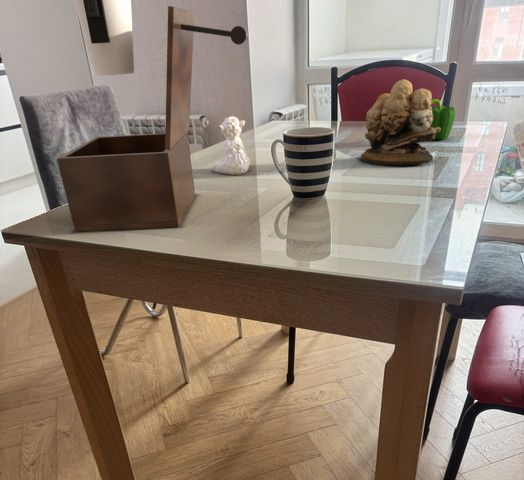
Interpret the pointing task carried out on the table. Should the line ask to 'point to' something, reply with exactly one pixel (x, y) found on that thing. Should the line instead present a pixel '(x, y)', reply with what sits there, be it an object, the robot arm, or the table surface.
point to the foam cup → (111, 38)
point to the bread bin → (128, 182)
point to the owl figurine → (400, 127)
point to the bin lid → (184, 68)
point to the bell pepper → (442, 119)
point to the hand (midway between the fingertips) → (109, 42)
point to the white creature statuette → (232, 149)
